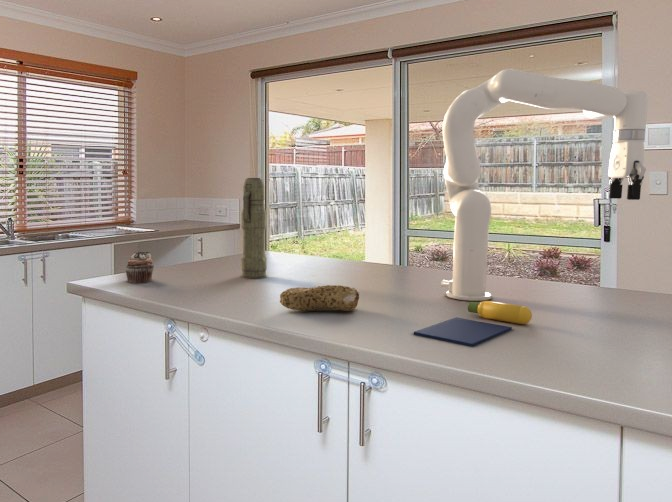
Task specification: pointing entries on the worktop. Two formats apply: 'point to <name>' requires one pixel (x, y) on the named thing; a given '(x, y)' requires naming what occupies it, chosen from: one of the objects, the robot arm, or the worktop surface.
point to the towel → (463, 331)
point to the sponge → (320, 298)
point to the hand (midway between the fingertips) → (623, 199)
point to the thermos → (253, 229)
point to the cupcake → (139, 268)
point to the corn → (501, 311)
